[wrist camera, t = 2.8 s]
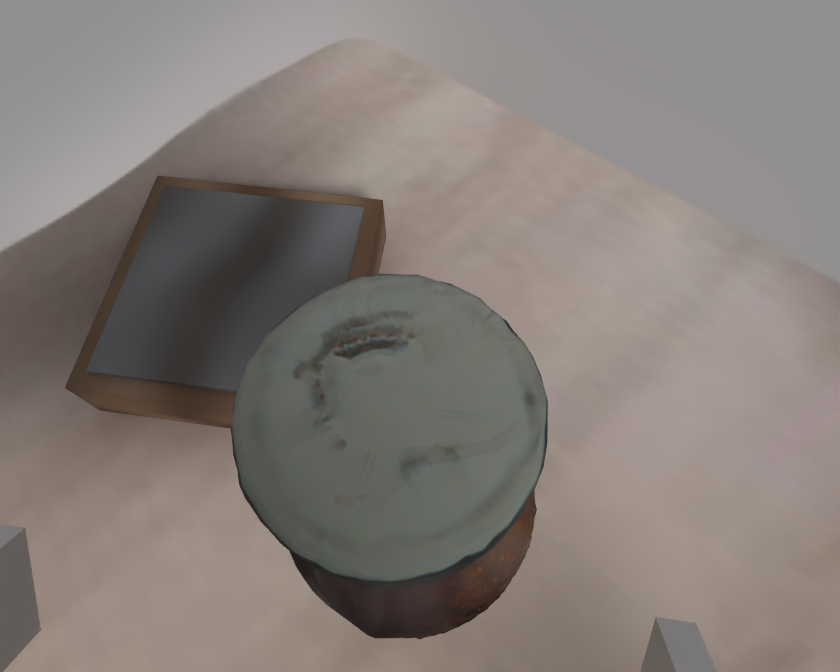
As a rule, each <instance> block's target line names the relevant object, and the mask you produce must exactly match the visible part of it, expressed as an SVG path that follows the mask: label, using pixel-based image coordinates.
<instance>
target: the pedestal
mask: <svg viewBox="0 0 840 672" xmlns="http://www.w3.org/2000/svg"><path fill="white" fill-rule="evenodd" d="M385 238H386V229H385V219H384V209H383V200H377V199H368V198H358V197H349V196H340V195H331V194H322V193H312V192H303V191H294V190H285V189H275V188H266V187H257V186H248V185H239V184H229V183H220V182H211V181H202V180H193V179H183V178H174V177H165V176H157V178H156V181H155V183H154V185H153V187H152V190H151V192H150V194H149V197H148V199H147V201H146V203H145V206H144V208H143V210H142V213H141V215H140V217H139V220H138V222H137V224H136V226H135V229H134V231H133V233H132V236H131V238H130V240H129V242H128V245H127V247H126V249H125V252H124V254H123V256H122V258H121V261H120V263H119V265H118V268H117V270H116V272H115V274H114V277H113V279H112V281H111V284H110V286H109V288H108V290H107V293H106V295H105V297H104V300H103V302H102V304H101V306H100V309H99V311H98V313H97V316H96V318H95V320H94V322H93V325H92V327H91V329H90V332H89V334H88V336H87V339H86V341H85V343H84V345H83V348H82V350H81V352H80V355H79V357H78V359H77V361H76V364H75V366H74V368H73V371H72V373H71V375H70V377H69V380H68V382H67V384H66V387H65V388H66V389H68V390H69V391H71V392H72V393H74V394H76V395H77V396H79V397H80V398H82V399H83V400H85V401H86V402H88V403H90V404H91V405H93V406H94V407H96V408H97V409H99V410H103V411H110V412H118V413H125V414H132V415H139V416H146V417H154V418H161V419H168V420H175V421H183V422H190V423H197V424H204V425H212V426H219V427H226V428H231V423H232V416H233V405H234V398H235V393H236V390H237V388H238V385H239V383H240V381H241V378H242V374H243V371H244V367H245V365H246V364H247V363H248V362H249V360H250V359H251V358H252V356H253V355H254V354H255V353H256V351H257V349H258V348H259V346H260V344H261V343H262V341H263V339H264V338H265V336H266V335H267V334H268V333H269V332H270V331H271V330H272V329H273V328H274V327H275V326H276V325H277V324H278V323H279V322H280V321H282V320H283V319H284V318H285V317H286V316H287V315H289V314H290V313H291V312H292V311H293V310H294V309H296V308H297V307H298V306H300V305H302V304H303V303H305V302H307V301H308V300H310V299H312V298H313V297H315V296H317V295H318V294H320V293H321V292H323V291H326V290H329V289H331V288H334V287H336V286H338V285H340V284H342V283H344V282H347V281H350V280H353V279H356V278H359V277H361V276H375V275H378V273H379V268H380V263H381V258H382V253H383V248H384V243H385Z"/></svg>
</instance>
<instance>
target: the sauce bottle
mask: <svg viewBox="0 0 840 672" xmlns="http://www.w3.org/2000/svg"><path fill="white" fill-rule="evenodd" d="M547 414H548V401H547V397H546V393H545V389H544V386H543V382H542V378H541V374H540V372H539V370H538V368H537V365H536V363H535V361H534V358H533V356H532V355H531V353H530V351H529V350H528V348H527V346H526V345H525V343H524V342H523V341H522V340H521V339H520V338H519V337H518V335H517V334H516V333H515V332H514V331H513V330H512V328H511V327H510V325H509V324H508V323H507V321H506V320H504V319H503V318H502V317H501V316H499V315H498V314H497V313H496V312H494V311H493V310H492V309H491V308H490V307H488V306H487V305H486V304H485V303H484V302H483V301H482V300H481V299H480V298H478V297H476V296H474V295H472V294H470V293H468V292H466V291H464V290H462V289H460V288H458V287H456V286H454V285H452V284H449V283H445V282H440V281H436V280H433V279H429V278H426V277H423V276H419V275H397V274H378V275H375V276H361V277H359V278H356V279H353V280H350V281H347V282H344V283H342V284H340V285H338V286H336V287H334V288H331V289H329V290H326V291H323V292H321V293H320V294H318V295H317V296H315V297H313V298H312V299H310V300H308V301H307V302H305V303H303V304H302V305H300V306H298V307H297V308H296V309H294V310H293V311H292V312H291V313H290V314H289V315H287V316H286V317H285V318H284V319H283V320H282V321H280V322H279V323H278V324H277V325H276V326H275V327H274V328H273V329H272V330H271V331H270V332H269V333H268V334H267V335H266V336H265V338H264V339H263V341H262V343H261V344H260V346H259V348H258V349H257V351H256V353H255V354H254V355H253V356H252V358H251V359H250V360H249V362H248V363H247V364H246V365H245V367H244V371H243V374H242V378H241V381H240V383H239V385H238V388H237V390H236V393H235V398H234V405H233V416H232V423H231V434H232V442H233V455H234V459H235V463H236V466H237V470H238V478H239V485H240V488H241V490H242V492H243V494H244V496H245V498H246V500H247V502H248V503H249V504H250V506H251V507H252V509H253V510H254V512H255V513H256V515H257V516H258V518H259V519H260V521H261V522H262V523H263V524H264V525H265V526H266V527H267V528H268V529H269V531H270V532H271V533H272V534H273V535H274V536H275V537H276V539H277V540H278V541H279V542H280V543H281V544H282V545H283V546H285V547H286V548H287V549H288V550H289V551H290V553H291V556H292V558H293V560H294V563H295V565H296V567H297V569H298V570H299V572H300V573H301V575H302V576H303V578H304V579H305V581H306V582H307V584H308V585H309V586H310V588H311V589H312V591H313V592H314V593H315V594H316V595H317V596H318V597H319V598H320V599H321V600H322V601H324V602H325V603H326V604H327V605H328V606H329V607H330V608H332V609H333V610H335V611H336V612H337V613H339V614H340V615H341V616H343V617H344V618H346V619H347V620H348V621H350V622H351V623H352V624H354V625H355V626H356V627H358V628H359V629H360V630H362V631H363V632H364V633H366V634H367V635H369V636H371V637H374V638H417V639H422V638H424V637H428V636H434V635H437V634H441V633H446V632H448V631H450V630H452V629H454V628H457V627H459V626H461V625H462V624H465V623H467V622H469V621H471V620H472V619H474V618H475V617H476V616H477V615H479V614H480V613H482V612H484V611H485V610H486V609H488V607H489V606H490V605H491V604H492V603H493V602H494V601H495V600H497V599H498V598H499V597H500V595H501V593H503V592H504V591H505V589H506V587H507V586H508V584H509V583H510V582H511V580H512V578H513V577H514V575H515V574H516V572H517V570H518V569H519V567H520V565H521V563H522V561H523V559H524V558H525V555H526V552H527V550H528V548H529V545H530V541H531V534H532V531H533V526H534V518H535V514H536V510H537V509H536V505H535V499H534V494H535V493H534V489H535V487H536V484H537V482H538V479H539V477H540V474H541V472H542V469H543V466H544V459H545V453H546V447H547Z"/></svg>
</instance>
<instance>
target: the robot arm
mask: <svg viewBox="0 0 840 672" xmlns="http://www.w3.org/2000/svg"><path fill="white" fill-rule="evenodd" d="M40 630H41V628H40V621H39V615H38V608H37V602H36V595H35V589H34V582H33V576H32V569H31V563H30V556H29V550H28V543H27V537H26V530H25V528H23V527H16V526H9V525H2V524H0V672H3V671H4V670H5V669H6V668H7V667H8V665H9V664H10V663H11V662H12V661H13V660H14V659H15V658H16V657H17V655H18V654H19V653H20V652H21V651H22V650H23V649H24V648H25V647H26V645H27V644H28V643H29V642H30V641H31V640H32V639H33V638H34V637H35V635H36V634H37V633H38V632H39V631H40ZM641 672H717V670H716V667H715V665H714V663H713V661H712V659H711V656H710V654H709V652H708V650H707V648H706V645H705V643H704V641H703V639H702V637H701V634H700V632H699V630H698V628H697V626H696V623H691V622H684V621H677V620H670V619H663V618H656V619H655V622H654V626H653V629H652V633H651V637H650V640H649V644H648V647H647V651H646V655H645V658H644V662H643V665H642V669H641Z"/></svg>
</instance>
